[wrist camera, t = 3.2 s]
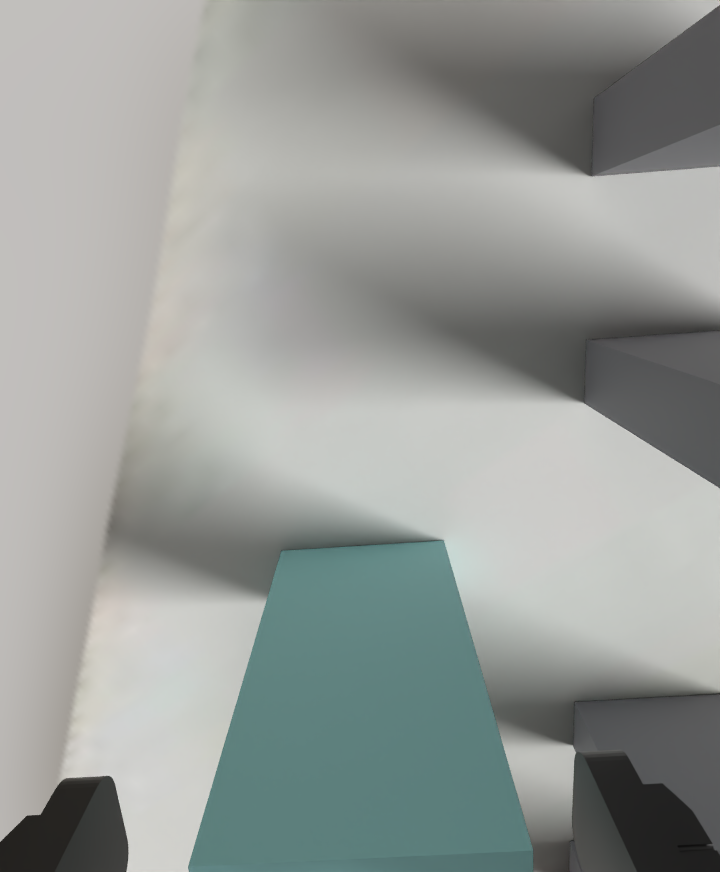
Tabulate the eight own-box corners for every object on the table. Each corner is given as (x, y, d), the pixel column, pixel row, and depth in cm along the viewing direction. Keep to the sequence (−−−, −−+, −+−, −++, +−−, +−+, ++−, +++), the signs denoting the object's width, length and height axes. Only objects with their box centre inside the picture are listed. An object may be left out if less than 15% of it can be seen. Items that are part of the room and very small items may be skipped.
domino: (281, 550, 18) (188, 867, 9) (443, 540, 18) (533, 850, 8) (287, 602, 19) (206, 956, 9) (445, 592, 19) (532, 941, 9)
